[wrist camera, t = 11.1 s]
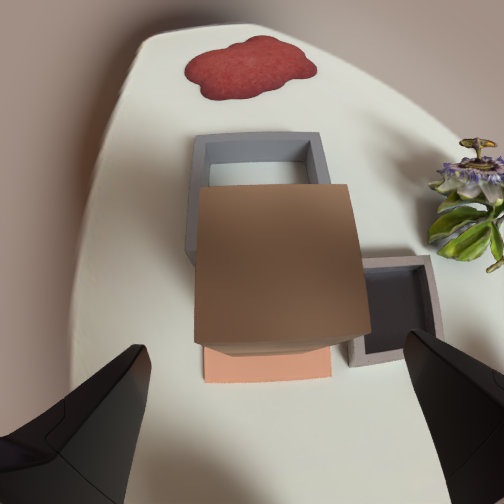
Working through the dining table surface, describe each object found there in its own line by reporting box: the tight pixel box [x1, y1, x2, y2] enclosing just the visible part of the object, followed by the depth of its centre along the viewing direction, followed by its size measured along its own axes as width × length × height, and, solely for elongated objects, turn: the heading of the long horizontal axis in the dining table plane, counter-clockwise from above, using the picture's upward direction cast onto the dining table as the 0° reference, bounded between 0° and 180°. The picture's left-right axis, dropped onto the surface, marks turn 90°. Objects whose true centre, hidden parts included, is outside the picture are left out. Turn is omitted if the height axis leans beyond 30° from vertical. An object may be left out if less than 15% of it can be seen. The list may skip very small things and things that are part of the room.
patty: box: [185, 35, 317, 101], centre depth 33 cm, size 18×14×2 cm
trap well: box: [347, 255, 444, 367], centre depth 20 cm, size 8×8×2 cm
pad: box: [204, 346, 332, 383], centre depth 21 cm, size 9×9×1 cm
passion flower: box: [428, 137, 504, 273], centre depth 21 cm, size 11×11×12 cm
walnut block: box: [194, 184, 371, 357], centre depth 15 cm, size 5×5×13 cm
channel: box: [185, 132, 331, 266], centre depth 23 cm, size 11×11×3 cm
